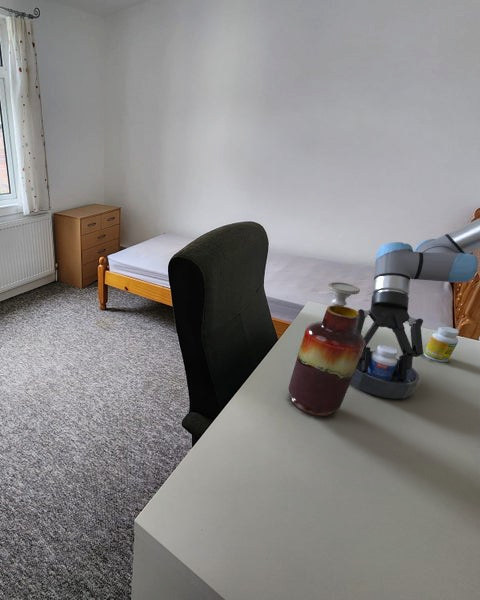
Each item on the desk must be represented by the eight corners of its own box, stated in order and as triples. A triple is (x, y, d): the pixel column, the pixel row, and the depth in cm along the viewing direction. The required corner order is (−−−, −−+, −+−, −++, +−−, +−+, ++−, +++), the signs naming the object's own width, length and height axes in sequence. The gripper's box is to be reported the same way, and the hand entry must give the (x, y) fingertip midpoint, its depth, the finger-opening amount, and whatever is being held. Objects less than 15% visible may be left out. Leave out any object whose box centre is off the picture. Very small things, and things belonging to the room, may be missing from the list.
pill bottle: (367, 383, 90) (380, 353, 86) (358, 371, 95) (369, 342, 90) (392, 386, 89) (406, 355, 84) (380, 374, 93) (394, 344, 89)
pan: (380, 364, 98) (387, 349, 96) (428, 400, 85) (436, 384, 82) (327, 364, 99) (332, 350, 97) (365, 400, 85) (372, 384, 83)
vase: (347, 423, 78) (388, 325, 67) (294, 417, 80) (326, 320, 69) (325, 392, 88) (358, 301, 77) (279, 387, 90) (305, 298, 79)
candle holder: (303, 337, 113) (320, 280, 104) (332, 338, 111) (352, 281, 103) (315, 351, 105) (335, 291, 96) (347, 353, 103) (369, 293, 95)
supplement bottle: (428, 350, 104) (441, 323, 100) (451, 359, 100) (466, 331, 96) (419, 355, 102) (432, 327, 98) (442, 364, 98) (457, 336, 94)
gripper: (430, 307, 92) (426, 389, 86) (342, 294, 101) (332, 368, 95) (446, 296, 86) (442, 384, 80) (350, 284, 95) (340, 362, 89)
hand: (382, 375), depth 87 cm, fingers open, 7 cm apart
